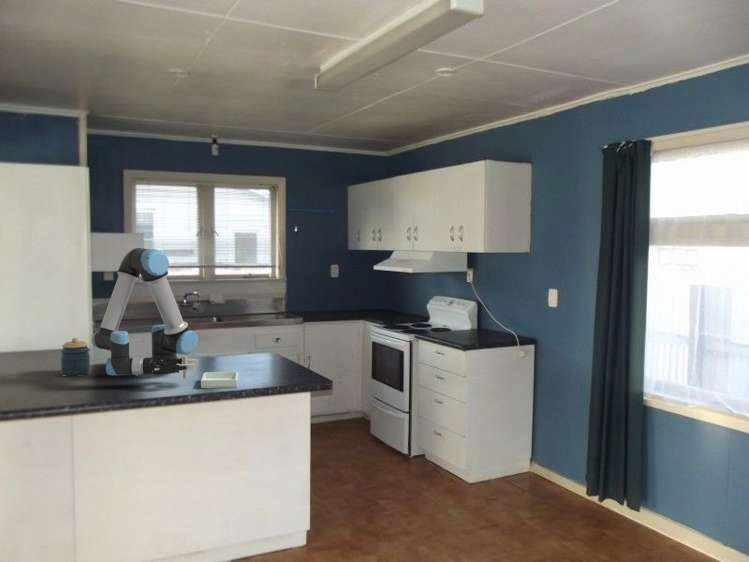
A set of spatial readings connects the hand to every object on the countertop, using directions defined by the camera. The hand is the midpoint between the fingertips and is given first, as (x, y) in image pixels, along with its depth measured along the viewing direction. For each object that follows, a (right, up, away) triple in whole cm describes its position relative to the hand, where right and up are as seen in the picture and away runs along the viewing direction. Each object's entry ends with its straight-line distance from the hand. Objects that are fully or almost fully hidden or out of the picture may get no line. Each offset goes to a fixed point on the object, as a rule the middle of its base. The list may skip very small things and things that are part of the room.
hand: (195, 364), depth 290 cm
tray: (+10, -10, +5) cm, 15 cm away
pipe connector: (-5, -6, 0) cm, 8 cm away
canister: (-62, -7, +17) cm, 65 cm away
